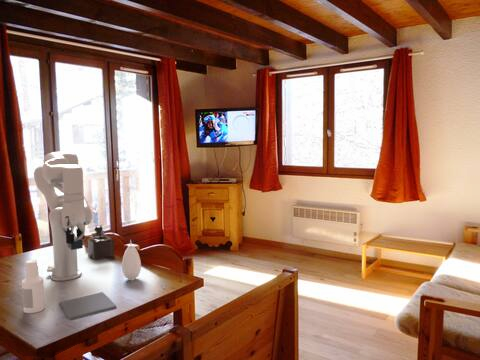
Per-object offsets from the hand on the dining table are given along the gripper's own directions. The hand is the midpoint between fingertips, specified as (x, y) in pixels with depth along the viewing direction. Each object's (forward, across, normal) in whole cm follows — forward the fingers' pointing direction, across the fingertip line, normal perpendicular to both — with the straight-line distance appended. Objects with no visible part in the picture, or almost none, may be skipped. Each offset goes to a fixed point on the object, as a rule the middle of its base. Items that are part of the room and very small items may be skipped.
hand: (75, 240), depth 158 cm
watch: (+3, 0, 0) cm, 3 cm away
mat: (+20, +14, +12) cm, 28 cm away
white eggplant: (+21, -14, +17) cm, 30 cm away
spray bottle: (+20, +20, -5) cm, 29 cm away
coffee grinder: (+21, -43, -12) cm, 49 cm away
